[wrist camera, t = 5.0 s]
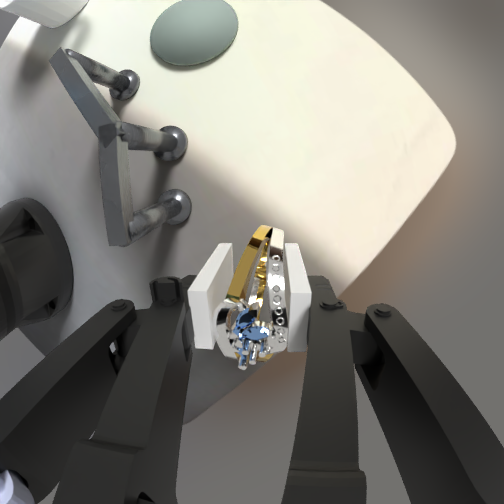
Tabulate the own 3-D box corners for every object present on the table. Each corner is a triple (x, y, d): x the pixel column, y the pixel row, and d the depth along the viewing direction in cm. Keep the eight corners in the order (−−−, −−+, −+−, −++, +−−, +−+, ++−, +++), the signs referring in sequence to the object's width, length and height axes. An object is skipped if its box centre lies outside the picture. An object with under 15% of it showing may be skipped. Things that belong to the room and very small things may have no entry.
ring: (272, 318, 19) (263, 405, 11) (228, 306, 19) (195, 387, 11) (303, 223, 16) (320, 272, 9) (253, 209, 17) (226, 246, 9)
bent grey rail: (119, 226, 24) (50, 262, 14) (113, 75, 19) (45, 48, 10) (193, 222, 23) (144, 262, 14) (186, 57, 19) (139, 5, 9)
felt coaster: (150, 73, 19) (148, 71, 19) (155, 8, 17) (153, 6, 16) (239, 59, 19) (238, 57, 18) (237, -6, 16) (236, -9, 16)
